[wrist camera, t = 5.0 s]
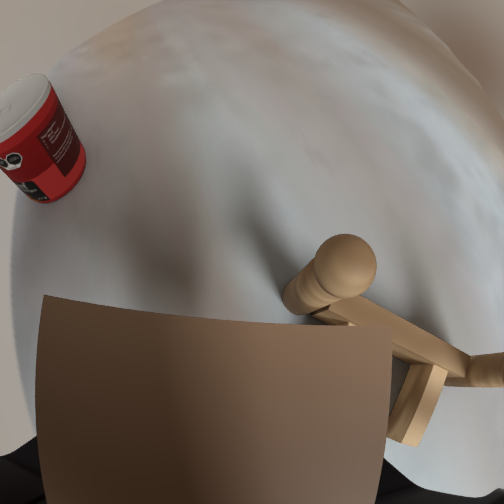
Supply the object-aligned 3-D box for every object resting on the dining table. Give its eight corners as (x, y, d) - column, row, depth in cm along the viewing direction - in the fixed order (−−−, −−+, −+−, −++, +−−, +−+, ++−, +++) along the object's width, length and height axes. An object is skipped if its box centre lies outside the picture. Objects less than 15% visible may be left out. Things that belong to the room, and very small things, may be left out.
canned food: (21, 176, 25) (-28, 117, 14) (73, 133, 27) (38, 63, 16) (40, 221, 23) (-23, 161, 13) (99, 170, 26) (58, 91, 15)
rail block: (257, 426, 14) (354, 583, 2) (171, 419, 14) (59, 560, 2) (262, 345, 16) (398, 317, 3) (176, 338, 15) (40, 285, 3)
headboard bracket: (430, 447, 20) (507, 469, 10) (236, 376, 21) (249, 400, 11) (463, 361, 23) (543, 351, 13) (291, 269, 24) (340, 211, 14)
